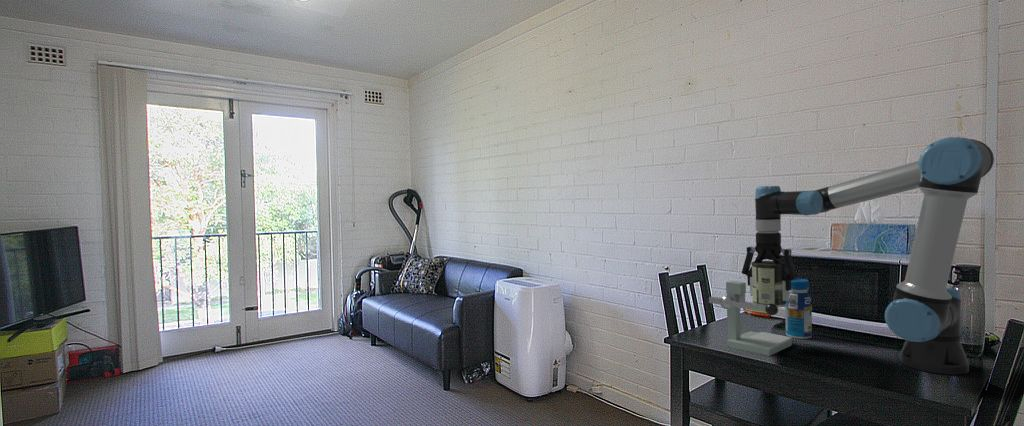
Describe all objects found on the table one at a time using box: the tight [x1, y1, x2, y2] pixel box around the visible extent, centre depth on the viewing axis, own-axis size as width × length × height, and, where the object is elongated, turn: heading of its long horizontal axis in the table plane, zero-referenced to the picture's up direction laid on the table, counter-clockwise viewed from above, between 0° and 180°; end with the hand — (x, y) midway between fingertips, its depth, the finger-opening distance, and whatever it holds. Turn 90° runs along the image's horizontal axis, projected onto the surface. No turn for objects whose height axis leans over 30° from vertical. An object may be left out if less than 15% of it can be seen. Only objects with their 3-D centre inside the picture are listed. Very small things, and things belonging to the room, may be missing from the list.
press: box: [725, 280, 793, 357], centre depth 166 cm, size 15×18×21 cm
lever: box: [708, 295, 779, 316], centre depth 161 cm, size 22×4×4 cm, turn 38°
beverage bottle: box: [784, 278, 813, 340], centre depth 175 cm, size 8×8×20 cm
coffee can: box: [751, 260, 787, 308], centre depth 167 cm, size 10×10×14 cm
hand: (769, 297), depth 167 cm, fingers closed on coffee can, 10 cm apart
